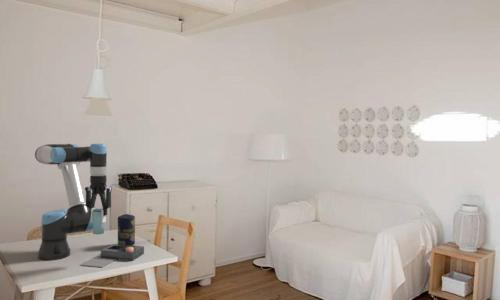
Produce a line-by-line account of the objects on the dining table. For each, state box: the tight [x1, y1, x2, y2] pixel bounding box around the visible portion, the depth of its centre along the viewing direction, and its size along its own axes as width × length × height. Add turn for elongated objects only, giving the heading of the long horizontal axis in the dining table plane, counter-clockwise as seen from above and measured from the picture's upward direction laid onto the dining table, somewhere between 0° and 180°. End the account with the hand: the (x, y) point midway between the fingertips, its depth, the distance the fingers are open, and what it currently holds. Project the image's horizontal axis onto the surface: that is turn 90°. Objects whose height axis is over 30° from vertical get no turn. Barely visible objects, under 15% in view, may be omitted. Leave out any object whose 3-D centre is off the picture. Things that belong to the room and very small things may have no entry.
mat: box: [79, 256, 117, 268], centre depth 201 cm, size 12×12×1 cm
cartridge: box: [92, 207, 105, 235], centre depth 200 cm, size 5×5×12 cm
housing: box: [100, 243, 145, 262], centre depth 212 cm, size 18×12×4 cm, turn 78°
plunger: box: [126, 247, 134, 252], centre depth 209 cm, size 4×4×4 cm
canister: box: [117, 213, 136, 246], centre depth 231 cm, size 10×10×18 cm
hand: (98, 221), depth 200 cm, fingers closed on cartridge, 5 cm apart
